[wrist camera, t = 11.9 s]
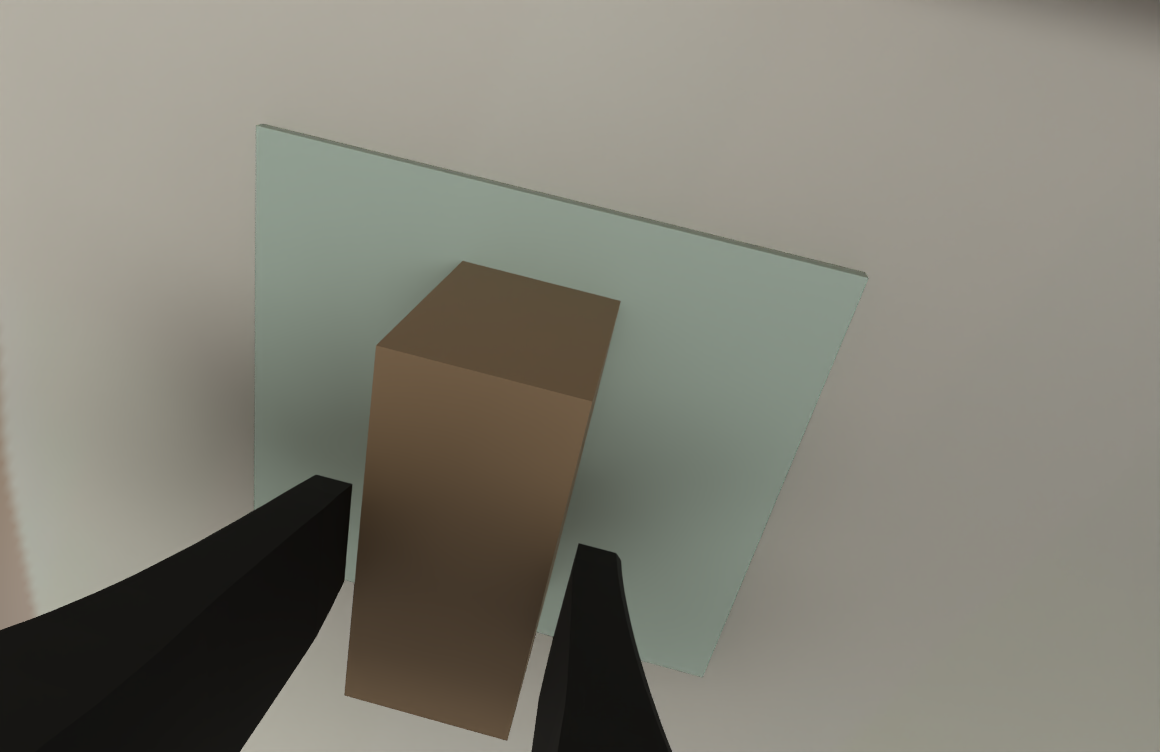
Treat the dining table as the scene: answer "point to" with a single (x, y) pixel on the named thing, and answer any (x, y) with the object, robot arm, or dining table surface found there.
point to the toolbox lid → (521, 409)
